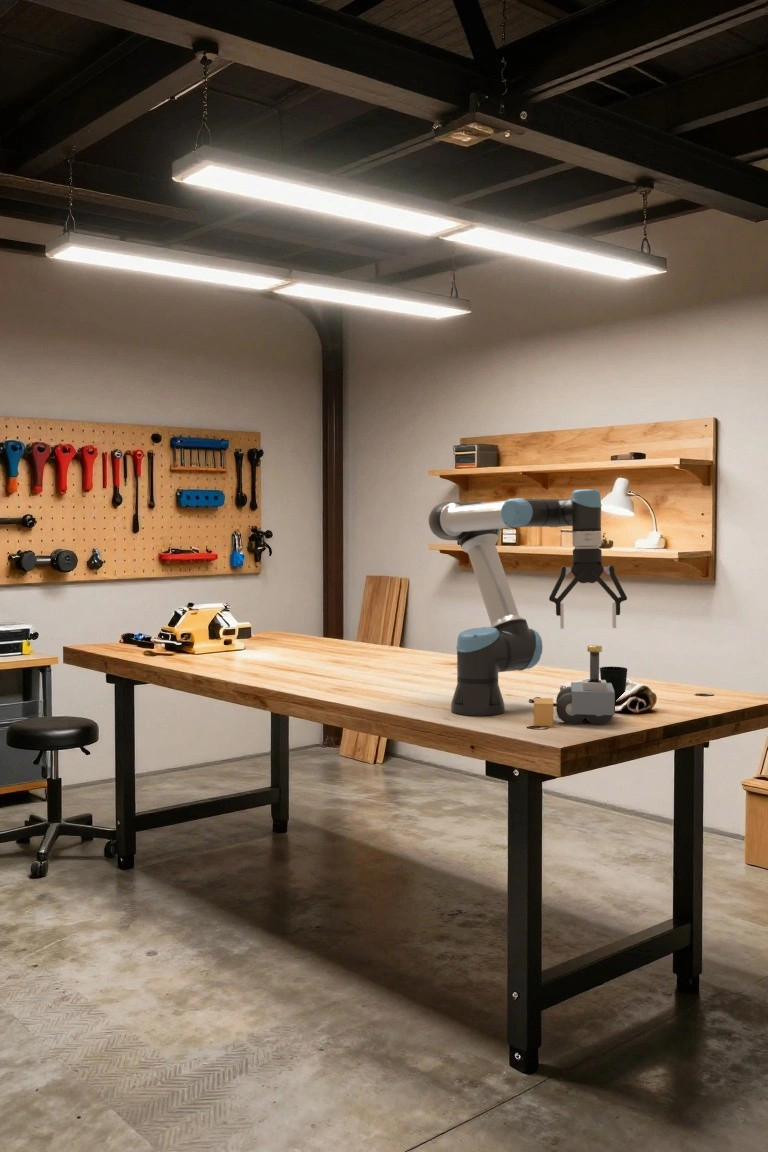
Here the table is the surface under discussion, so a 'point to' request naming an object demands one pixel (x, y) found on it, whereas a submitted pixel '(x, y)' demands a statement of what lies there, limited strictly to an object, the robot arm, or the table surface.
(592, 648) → the pin
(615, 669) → the cup
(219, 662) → the table surface
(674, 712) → the table surface
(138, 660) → the table surface
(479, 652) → the robot arm
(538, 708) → the block
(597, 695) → the trolley
